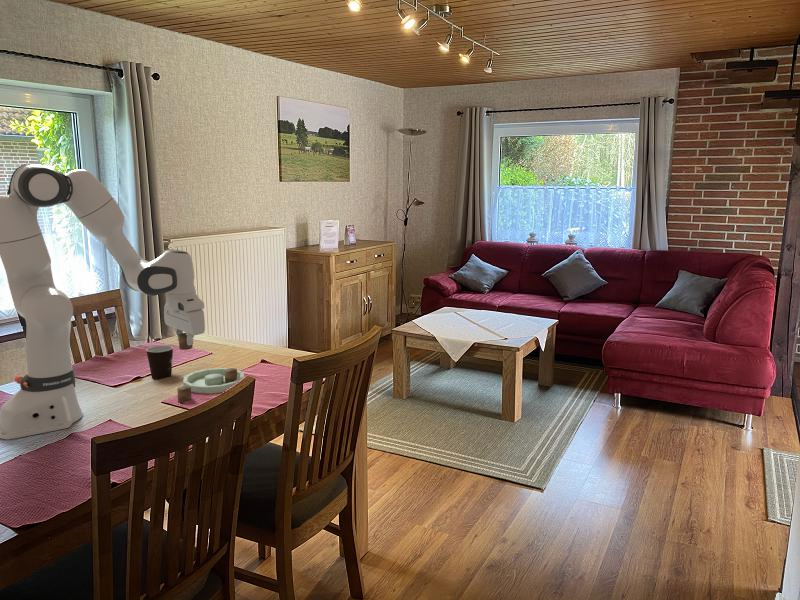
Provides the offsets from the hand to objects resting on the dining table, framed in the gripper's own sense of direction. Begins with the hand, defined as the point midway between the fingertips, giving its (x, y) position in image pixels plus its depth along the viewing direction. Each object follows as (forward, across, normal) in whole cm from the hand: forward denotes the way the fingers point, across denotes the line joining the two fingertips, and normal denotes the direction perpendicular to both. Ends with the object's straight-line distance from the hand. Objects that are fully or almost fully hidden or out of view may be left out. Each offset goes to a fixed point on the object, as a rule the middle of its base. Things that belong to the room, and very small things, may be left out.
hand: (185, 343), depth 200 cm
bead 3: (+16, +5, +12) cm, 20 cm away
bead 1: (+2, 0, 0) cm, 2 cm away
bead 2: (+16, +8, -6) cm, 19 cm away
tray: (+16, +1, +8) cm, 18 cm away
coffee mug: (+16, -21, +1) cm, 27 cm away
